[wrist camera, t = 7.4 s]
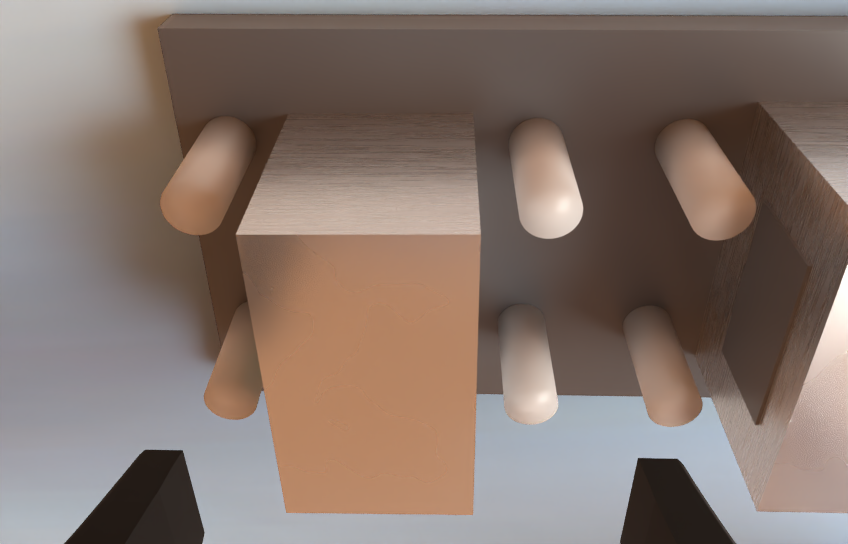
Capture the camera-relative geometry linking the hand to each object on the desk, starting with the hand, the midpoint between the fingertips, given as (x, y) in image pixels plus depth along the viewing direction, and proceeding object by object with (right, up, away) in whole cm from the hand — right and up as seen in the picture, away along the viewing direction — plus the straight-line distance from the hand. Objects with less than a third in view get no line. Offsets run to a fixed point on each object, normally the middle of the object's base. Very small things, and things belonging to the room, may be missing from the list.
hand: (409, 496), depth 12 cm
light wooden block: (-1, +4, +6) cm, 8 cm away
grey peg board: (+4, +5, +7) cm, 9 cm away
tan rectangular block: (+9, +4, +6) cm, 12 cm away
